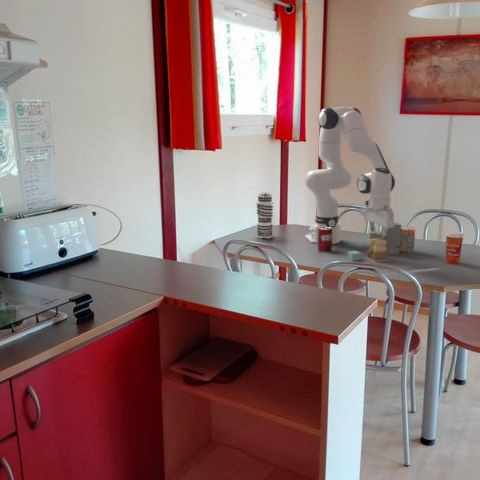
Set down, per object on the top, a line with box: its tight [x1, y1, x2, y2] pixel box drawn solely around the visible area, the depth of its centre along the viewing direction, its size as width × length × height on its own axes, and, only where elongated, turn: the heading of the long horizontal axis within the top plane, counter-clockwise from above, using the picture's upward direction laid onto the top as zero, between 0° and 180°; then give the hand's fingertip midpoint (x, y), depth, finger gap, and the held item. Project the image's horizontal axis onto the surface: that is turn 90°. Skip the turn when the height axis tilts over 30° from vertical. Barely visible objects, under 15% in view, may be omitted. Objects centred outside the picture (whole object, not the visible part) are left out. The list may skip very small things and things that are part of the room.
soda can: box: [317, 227, 333, 253], centre depth 266 cm, size 7×7×12 cm
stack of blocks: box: [369, 226, 416, 255], centre depth 265 cm, size 21×6×12 cm, turn 73°
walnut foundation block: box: [366, 248, 389, 262], centre depth 248 cm, size 7×7×4 cm
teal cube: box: [347, 250, 362, 262], centre depth 249 cm, size 4×4×4 cm
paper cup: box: [445, 230, 465, 265], centre depth 244 cm, size 8×8×14 cm
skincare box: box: [380, 222, 402, 256], centre depth 258 cm, size 8×7×16 cm
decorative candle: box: [256, 191, 274, 239], centre depth 297 cm, size 9×9×25 cm
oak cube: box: [368, 238, 386, 252], centre depth 247 cm, size 6×6×5 cm
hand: (377, 233), depth 247 cm, fingers open, 8 cm apart
